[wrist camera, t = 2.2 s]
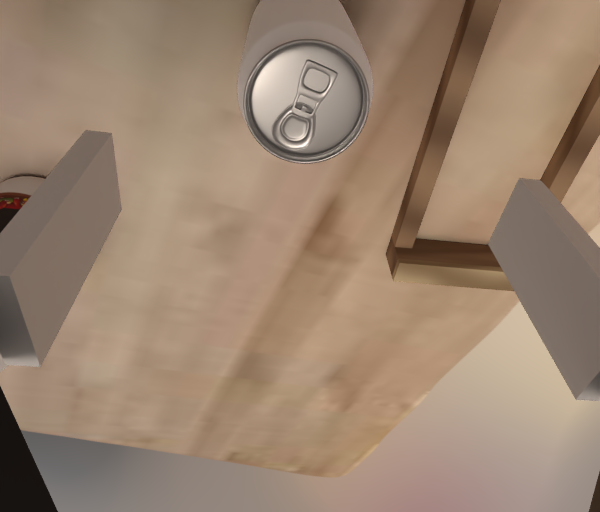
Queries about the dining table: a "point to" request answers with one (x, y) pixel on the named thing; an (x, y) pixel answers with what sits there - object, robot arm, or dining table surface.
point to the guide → (442, 121)
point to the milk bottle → (17, 201)
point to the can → (304, 80)
